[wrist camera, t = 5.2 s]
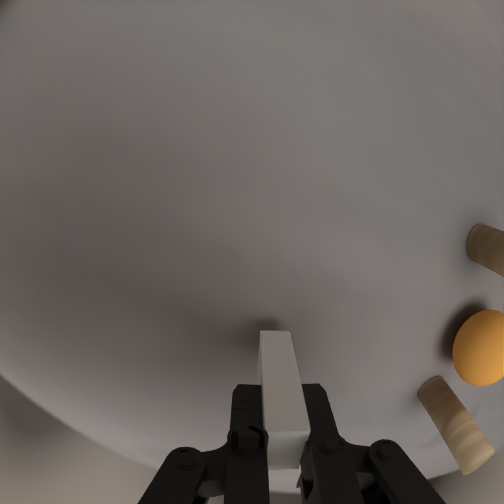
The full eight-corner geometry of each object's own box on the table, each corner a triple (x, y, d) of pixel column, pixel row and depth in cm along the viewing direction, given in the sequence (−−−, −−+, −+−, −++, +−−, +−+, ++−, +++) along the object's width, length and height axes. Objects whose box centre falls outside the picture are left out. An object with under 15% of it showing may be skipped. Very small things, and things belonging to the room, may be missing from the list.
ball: (453, 303, 15) (511, 341, 10) (489, 293, 16) (537, 322, 11) (429, 369, 17) (473, 412, 12) (467, 351, 18) (508, 384, 13)
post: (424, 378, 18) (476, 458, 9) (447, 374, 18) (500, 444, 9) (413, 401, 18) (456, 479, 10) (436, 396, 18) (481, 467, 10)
